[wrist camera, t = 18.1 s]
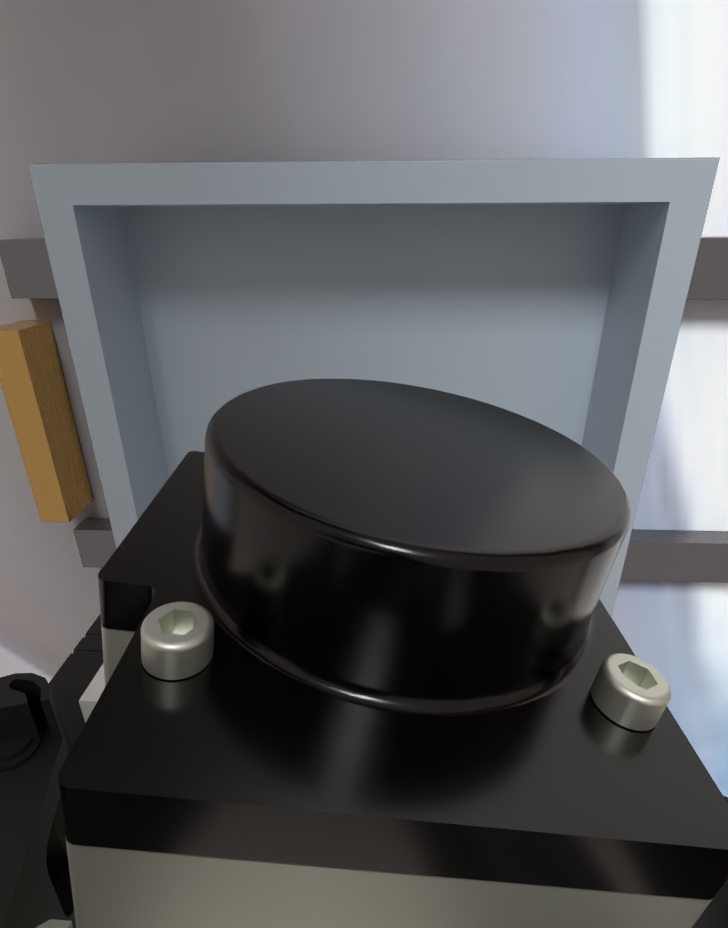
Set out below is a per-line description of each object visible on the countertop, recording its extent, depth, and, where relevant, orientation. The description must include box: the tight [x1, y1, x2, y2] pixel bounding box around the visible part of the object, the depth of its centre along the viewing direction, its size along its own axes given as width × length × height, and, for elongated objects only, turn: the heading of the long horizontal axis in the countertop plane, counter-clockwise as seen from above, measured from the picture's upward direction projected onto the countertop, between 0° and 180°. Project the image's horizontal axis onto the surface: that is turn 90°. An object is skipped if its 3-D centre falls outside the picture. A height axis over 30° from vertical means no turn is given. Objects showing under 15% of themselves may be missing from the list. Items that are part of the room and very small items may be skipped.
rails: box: [0, 237, 728, 583], centre depth 21 cm, size 14×31×2 cm, turn 90°
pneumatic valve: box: [36, 379, 728, 928], centre depth 10 cm, size 6×12×12 cm, turn 171°
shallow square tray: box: [28, 158, 720, 616], centre depth 19 cm, size 18×18×4 cm
